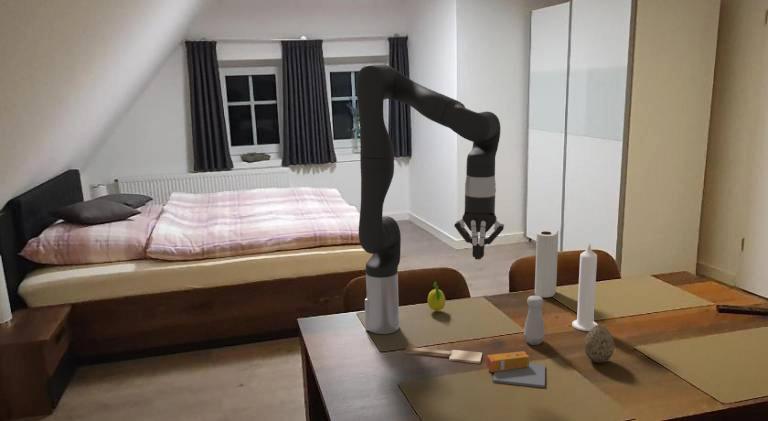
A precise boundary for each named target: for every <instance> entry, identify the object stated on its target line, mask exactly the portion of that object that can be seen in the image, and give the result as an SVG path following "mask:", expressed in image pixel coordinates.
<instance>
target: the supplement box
mask: <svg viewBox="0 0 768 421" xmlns="http://www.w3.org/2000/svg"><path fill="white" fill-rule="evenodd" d="M529 363H530V355H528V354H527V353H526V352H525V351H514V352H513V351H512V352H504V353H496V354H495V353H494V354H488V355H486V367H487V368H488V370H489V371H490V372H491V373H494V372H495V371H502V370H510V369H518V368H526V367H529Z"/></svg>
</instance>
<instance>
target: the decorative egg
mask: <svg viewBox="0 0 768 421" xmlns="http://www.w3.org/2000/svg"><path fill="white" fill-rule="evenodd" d="M587 332H588V333H587V334H586V336H585V339H584V342H583V347H584V353H585V354H586V356H587V358H588V359H589V360H591V362H595V363H598V364H600V363H601V364H602V363H605V362H608V361H609V360H610V359H611V357H612V356H613V354H614V352H615V351H614V350H615V343H614V338H613V336H612V334H611V332H610V331H609V330H608V328H606V327H605V326H604V325H603V324H598V325H596V326H595V327H593V328H592V329H591V330H590V331H587Z"/></svg>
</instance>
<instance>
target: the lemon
mask: <svg viewBox="0 0 768 421" xmlns="http://www.w3.org/2000/svg"><path fill="white" fill-rule="evenodd" d="M432 286H433V287H434V289H432V290H431V291H430V292H429V293H428V296H427V305H428V307H429V309H431V310H433V311H434V312H435V313H438V312H439V311H442V310H443V309H444V308H445V306H446V296H445V294H444V293H443V291H442V290H441V289H439V286H438V282H437V281H434V282H433V284H432Z"/></svg>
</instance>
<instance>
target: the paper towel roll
mask: <svg viewBox="0 0 768 421" xmlns="http://www.w3.org/2000/svg"><path fill="white" fill-rule="evenodd" d="M535 244H536V245H535V270H534V271H535V272H534V274H535V275H534V276H535V277H534V296H540V297H541V298H551V297H553V296H555V293H556V292H557V278H558V277H557V276H558V254H559V251H558V250H559V230H558V231H557V232H554V231H552V230H551V231H549V230H540V231H537V232H536V242H535Z"/></svg>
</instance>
